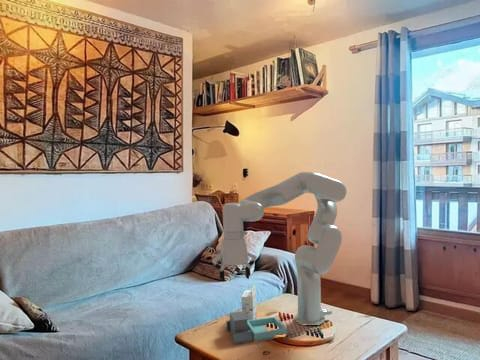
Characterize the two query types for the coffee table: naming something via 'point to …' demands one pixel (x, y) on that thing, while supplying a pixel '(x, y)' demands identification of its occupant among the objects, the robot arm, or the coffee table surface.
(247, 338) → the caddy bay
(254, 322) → the tray
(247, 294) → the ink cartridge box
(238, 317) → the grey upright block
